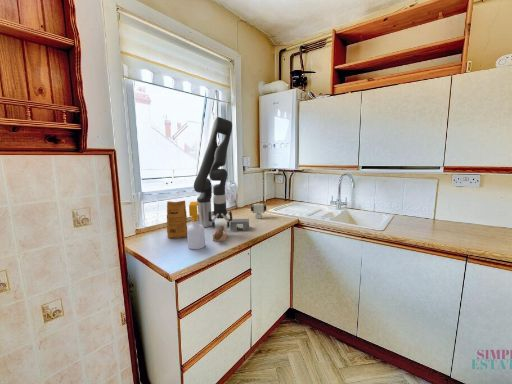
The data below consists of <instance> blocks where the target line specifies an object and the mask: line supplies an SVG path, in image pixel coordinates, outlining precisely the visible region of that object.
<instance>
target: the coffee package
mask: <svg viewBox="0 0 512 384" xmlns="http://www.w3.org/2000/svg"><path fill="white" fill-rule="evenodd" d="M187 217H188V215H187V207H186V200H179V201H170V200H169V201H167V202H166V234H167V238H168V239H173V238H175V239H181V238H186V237H187V228H188V224H187V223H188V221H187V220H188V219H187Z"/></svg>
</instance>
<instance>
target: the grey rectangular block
mask: <svg viewBox="0 0 512 384" xmlns="http://www.w3.org/2000/svg"><path fill="white" fill-rule="evenodd" d="M238 225H242V231H245V232H246V231H248V232H249V231H250V218H232V221H230V226H229V227H230V232H236V231H237V230H238Z"/></svg>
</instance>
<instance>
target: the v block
mask: <svg viewBox="0 0 512 384" xmlns="http://www.w3.org/2000/svg"><path fill="white" fill-rule="evenodd" d="M216 232H217V229H215V230H214V231H213V233H212V241H213V242H216V241H217V242H220V241H221V242H223V241H224V242H225V241H226V239H227V230H226V229H224V230H223V233H222V235H221V238H220V239H219V240H216V239H215V238H214V236H215V234H216Z"/></svg>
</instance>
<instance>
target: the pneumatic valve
mask: <svg viewBox="0 0 512 384" xmlns="http://www.w3.org/2000/svg"><path fill="white" fill-rule="evenodd" d="M266 211H267V205H266V204H265V203H260V202H258V203H253V204H252V205H250V212H252V213H253V214H255V216H254V217H255V219H260V220H261V219H262V218H263V214H264V213H265V212H266Z"/></svg>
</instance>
